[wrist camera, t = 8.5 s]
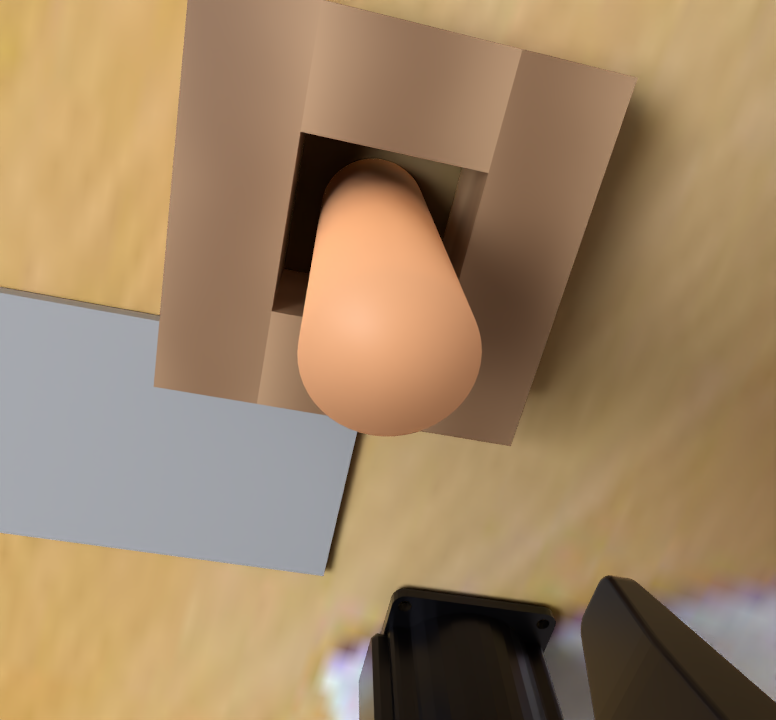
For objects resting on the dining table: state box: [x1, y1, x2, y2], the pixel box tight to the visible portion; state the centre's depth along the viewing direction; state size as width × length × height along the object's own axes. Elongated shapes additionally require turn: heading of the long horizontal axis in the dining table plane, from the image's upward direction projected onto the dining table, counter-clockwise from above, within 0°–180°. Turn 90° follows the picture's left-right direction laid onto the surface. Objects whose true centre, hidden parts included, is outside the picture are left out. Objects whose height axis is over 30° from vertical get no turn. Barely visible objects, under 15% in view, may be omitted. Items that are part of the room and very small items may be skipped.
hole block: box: [154, 0, 637, 446], centre depth 19 cm, size 10×10×4 cm
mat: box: [0, 287, 357, 576], centre depth 23 cm, size 12×9×1 cm
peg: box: [297, 159, 482, 436], centre depth 16 cm, size 3×3×10 cm
